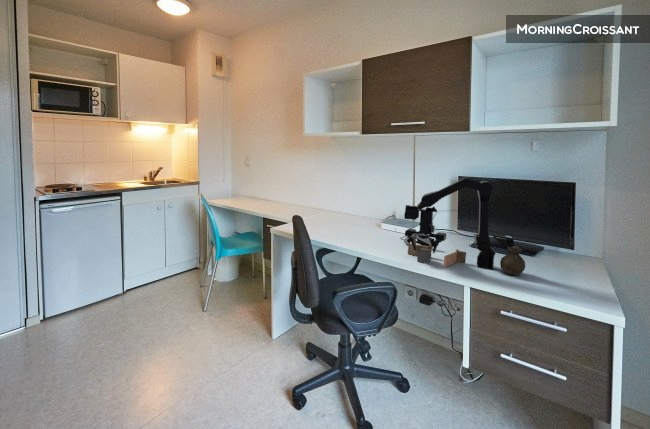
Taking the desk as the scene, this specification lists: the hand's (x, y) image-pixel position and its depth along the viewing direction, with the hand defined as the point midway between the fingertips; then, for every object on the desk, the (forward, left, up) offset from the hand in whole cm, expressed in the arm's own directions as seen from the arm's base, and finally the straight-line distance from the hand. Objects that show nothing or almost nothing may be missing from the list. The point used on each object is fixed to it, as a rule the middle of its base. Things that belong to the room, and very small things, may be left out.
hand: (424, 251), depth 167 cm
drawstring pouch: (-38, -3, -5) cm, 38 cm away
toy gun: (+9, -23, -5) cm, 25 cm away
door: (-12, -1, -4) cm, 13 cm away
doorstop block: (0, 0, -5) cm, 5 cm away
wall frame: (-4, -7, -5) cm, 9 cm away
